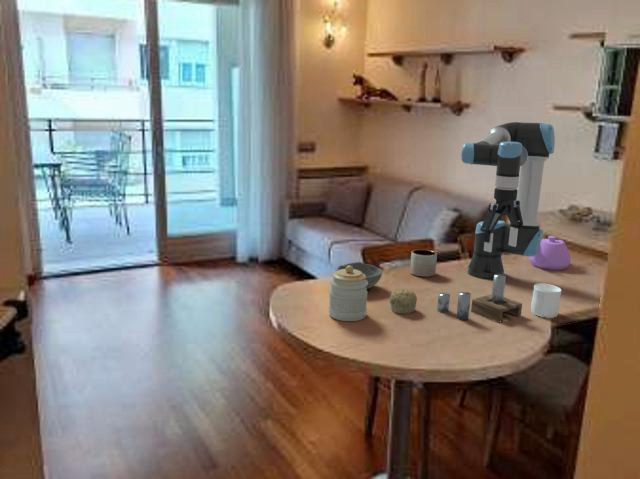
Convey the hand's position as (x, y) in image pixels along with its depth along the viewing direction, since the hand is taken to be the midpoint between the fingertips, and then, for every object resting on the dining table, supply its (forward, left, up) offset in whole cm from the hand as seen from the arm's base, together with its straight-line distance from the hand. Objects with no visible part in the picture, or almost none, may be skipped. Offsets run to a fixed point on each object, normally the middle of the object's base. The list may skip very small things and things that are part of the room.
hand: (500, 248), depth 206 cm
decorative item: (+28, -18, -23) cm, 40 cm away
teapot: (-70, -26, -23) cm, 78 cm away
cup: (-13, +11, -23) cm, 29 cm away
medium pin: (+16, -1, -23) cm, 28 cm away
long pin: (+2, +2, -23) cm, 23 cm away
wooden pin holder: (+2, +2, -23) cm, 23 cm away
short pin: (+16, -10, -23) cm, 29 cm away
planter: (-10, -46, -23) cm, 52 cm away
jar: (+48, -24, -23) cm, 58 cm away
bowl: (+26, -45, -23) cm, 56 cm away
